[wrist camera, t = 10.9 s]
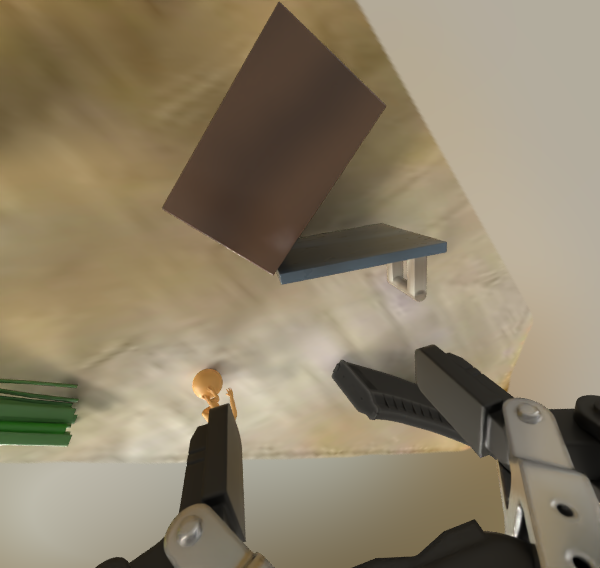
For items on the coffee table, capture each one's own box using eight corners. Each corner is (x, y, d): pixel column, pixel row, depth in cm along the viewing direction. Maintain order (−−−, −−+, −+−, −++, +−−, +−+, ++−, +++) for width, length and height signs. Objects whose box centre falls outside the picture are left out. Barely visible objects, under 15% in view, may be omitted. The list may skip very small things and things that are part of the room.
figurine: (210, 347, 42) (200, 407, 30) (248, 363, 44) (251, 425, 32) (182, 391, 43) (162, 465, 32) (219, 405, 45) (213, 479, 34)
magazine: (332, 407, 38) (536, 510, 38) (344, 387, 37) (551, 492, 38) (328, 351, 54) (470, 423, 55) (337, 336, 54) (480, 410, 55)
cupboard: (333, 133, 36) (387, 105, 23) (261, 244, 38) (273, 275, 25) (262, 73, 32) (279, 0, 19) (189, 199, 35) (161, 208, 22)
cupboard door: (383, 266, 43) (444, 302, 30) (274, 287, 40) (290, 336, 28) (381, 223, 40) (447, 241, 28) (266, 243, 38) (279, 274, 26)
